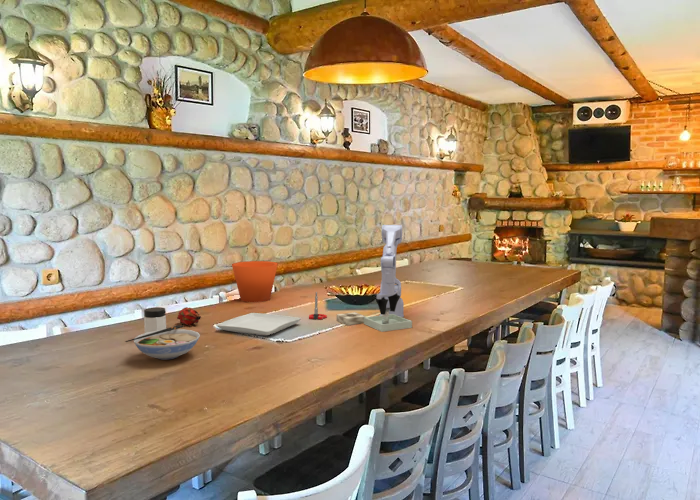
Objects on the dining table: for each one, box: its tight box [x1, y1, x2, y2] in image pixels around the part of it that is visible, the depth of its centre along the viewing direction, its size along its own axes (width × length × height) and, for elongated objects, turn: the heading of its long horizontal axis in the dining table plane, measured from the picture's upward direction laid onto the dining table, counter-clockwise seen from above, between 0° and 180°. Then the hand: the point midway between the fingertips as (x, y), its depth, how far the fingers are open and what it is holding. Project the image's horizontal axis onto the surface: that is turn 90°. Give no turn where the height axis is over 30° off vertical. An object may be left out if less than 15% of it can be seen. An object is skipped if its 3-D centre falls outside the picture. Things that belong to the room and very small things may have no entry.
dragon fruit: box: [176, 306, 202, 327], centre depth 243 cm, size 8×8×12 cm
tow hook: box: [308, 291, 328, 321], centre depth 259 cm, size 8×13×9 cm
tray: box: [363, 314, 413, 333], centre depth 243 cm, size 16×16×3 cm
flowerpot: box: [231, 260, 279, 303], centre depth 300 cm, size 25×25×20 cm
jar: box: [143, 306, 167, 333], centre depth 220 cm, size 9×8×12 cm
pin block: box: [336, 311, 367, 326], centre depth 250 cm, size 10×10×3 cm
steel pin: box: [382, 307, 390, 324], centre depth 243 cm, size 4×4×7 cm
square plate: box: [215, 312, 302, 336], centre depth 238 cm, size 27×27×4 cm
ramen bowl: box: [124, 324, 201, 361], centre depth 196 cm, size 25×23×8 cm
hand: (387, 312), depth 243 cm, fingers open, 7 cm apart
